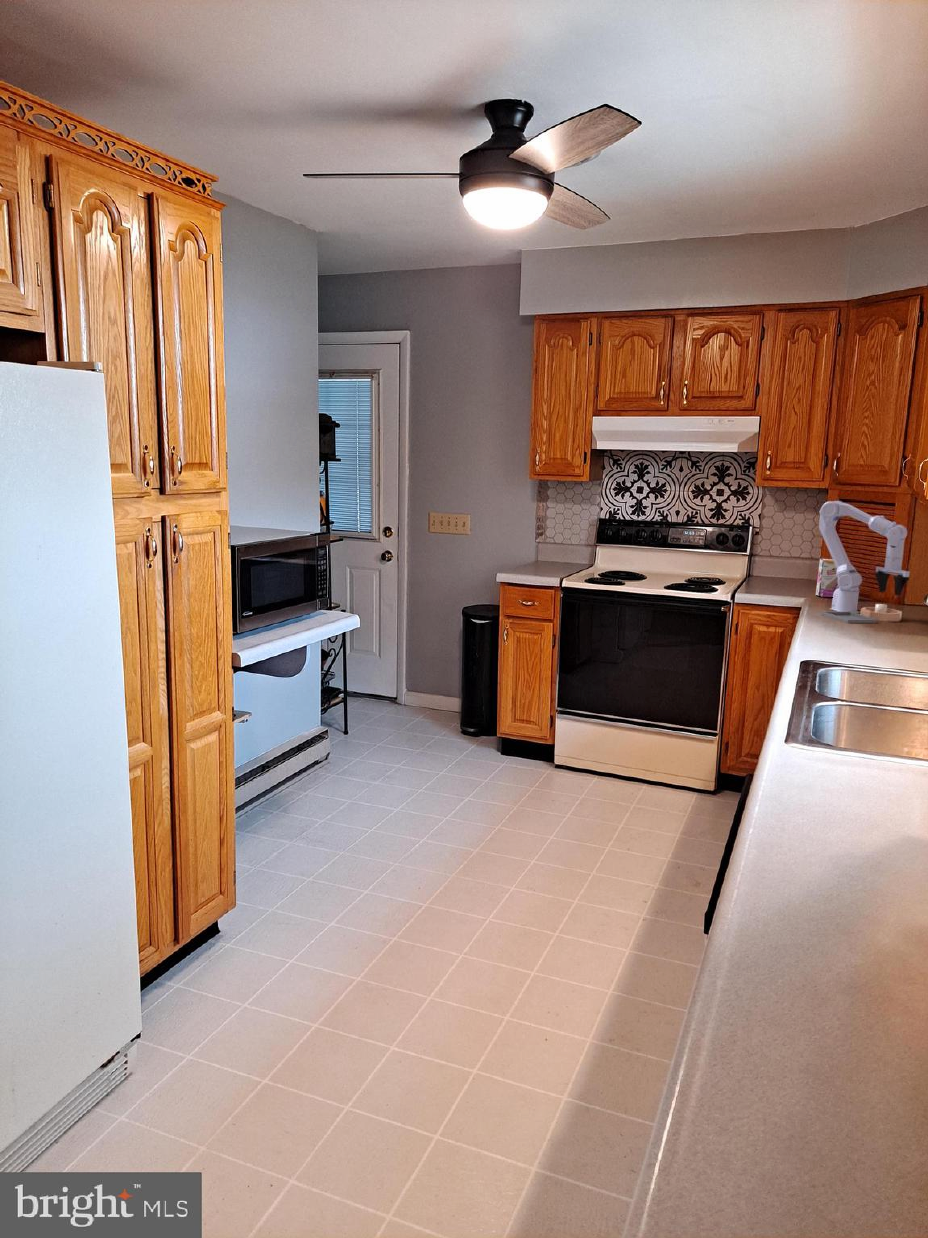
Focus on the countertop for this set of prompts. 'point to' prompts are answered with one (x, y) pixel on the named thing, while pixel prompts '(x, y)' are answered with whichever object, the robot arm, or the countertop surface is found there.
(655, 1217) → the countertop surface
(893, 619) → the terracotta bowl
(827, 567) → the candy bar box
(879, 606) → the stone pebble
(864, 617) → the parts tray
